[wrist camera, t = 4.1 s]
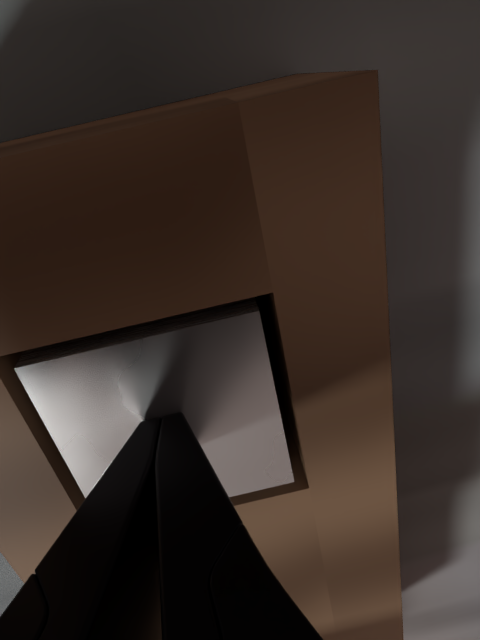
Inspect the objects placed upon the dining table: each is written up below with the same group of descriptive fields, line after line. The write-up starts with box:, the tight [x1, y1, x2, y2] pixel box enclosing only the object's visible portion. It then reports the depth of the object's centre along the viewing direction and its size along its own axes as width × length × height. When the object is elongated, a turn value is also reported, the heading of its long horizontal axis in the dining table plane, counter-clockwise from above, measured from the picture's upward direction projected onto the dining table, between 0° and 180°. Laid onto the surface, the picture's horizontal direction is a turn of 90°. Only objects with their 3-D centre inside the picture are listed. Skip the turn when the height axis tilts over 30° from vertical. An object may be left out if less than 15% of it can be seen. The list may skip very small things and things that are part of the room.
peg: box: [14, 297, 294, 499], centre depth 11 cm, size 4×4×4 cm
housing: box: [0, 70, 403, 640], centre depth 14 cm, size 24×9×5 cm, turn 12°
